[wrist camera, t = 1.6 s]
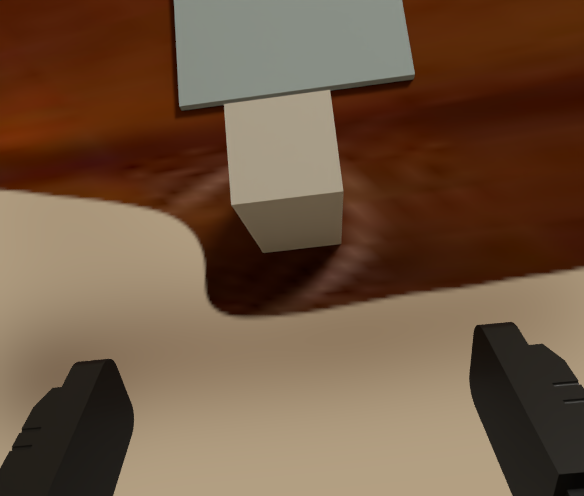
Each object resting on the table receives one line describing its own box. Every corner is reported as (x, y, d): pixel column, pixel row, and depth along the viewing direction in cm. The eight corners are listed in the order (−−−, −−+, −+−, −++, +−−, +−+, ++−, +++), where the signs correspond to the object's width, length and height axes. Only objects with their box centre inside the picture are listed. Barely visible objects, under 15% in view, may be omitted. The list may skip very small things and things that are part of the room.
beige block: (331, 170, 33) (329, 89, 23) (341, 244, 32) (343, 191, 22) (256, 180, 33) (223, 104, 24) (263, 253, 32) (231, 204, 22)
